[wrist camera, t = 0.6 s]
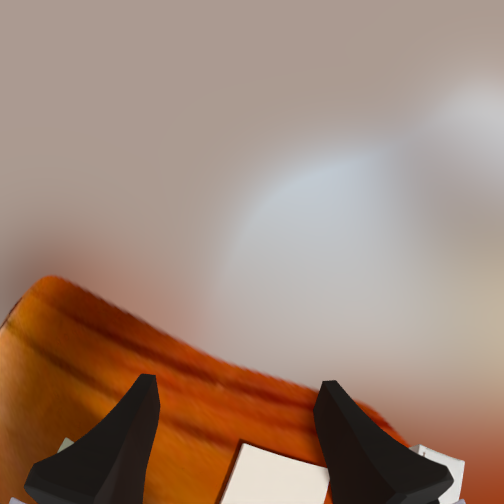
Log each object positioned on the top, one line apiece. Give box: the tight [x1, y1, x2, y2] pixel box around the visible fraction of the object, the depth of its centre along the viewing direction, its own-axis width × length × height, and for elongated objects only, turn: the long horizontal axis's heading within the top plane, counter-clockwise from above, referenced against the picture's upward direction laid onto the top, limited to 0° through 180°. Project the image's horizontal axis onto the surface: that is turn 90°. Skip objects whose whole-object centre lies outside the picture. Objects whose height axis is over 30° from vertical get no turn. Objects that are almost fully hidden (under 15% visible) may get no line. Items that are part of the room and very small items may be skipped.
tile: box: [219, 443, 330, 504], centre depth 21 cm, size 10×10×1 cm
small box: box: [409, 444, 465, 504], centre depth 20 cm, size 8×6×10 cm
